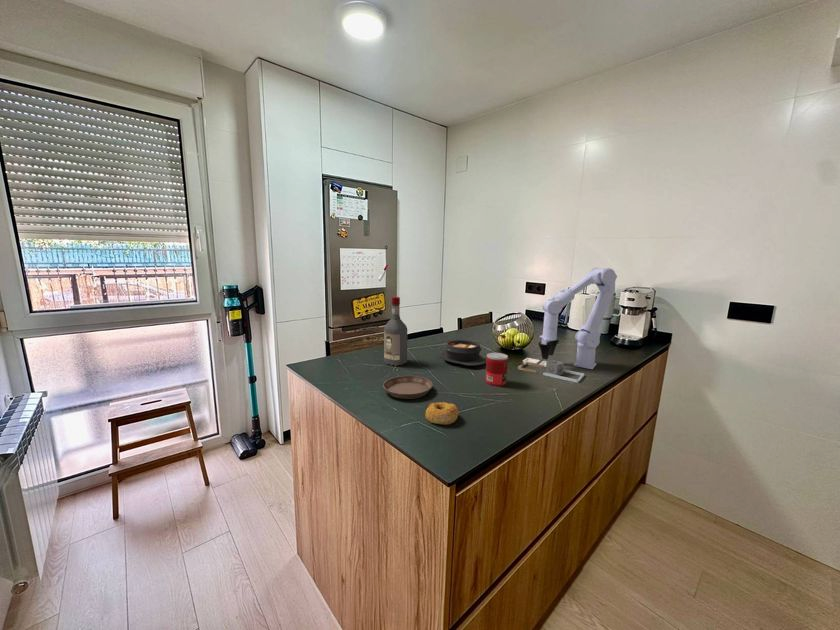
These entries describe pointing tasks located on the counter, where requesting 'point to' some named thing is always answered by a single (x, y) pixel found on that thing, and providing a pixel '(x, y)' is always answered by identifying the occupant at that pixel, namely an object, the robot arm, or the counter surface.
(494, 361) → the canned food
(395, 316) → the liquor
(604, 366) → the counter surface
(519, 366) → the oak pen
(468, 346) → the casserole
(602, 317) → the robot arm
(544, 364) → the dish
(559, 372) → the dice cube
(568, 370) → the metal frame
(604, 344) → the counter surface
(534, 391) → the counter surface
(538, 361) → the dish
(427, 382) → the plant saucer
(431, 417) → the bagel
